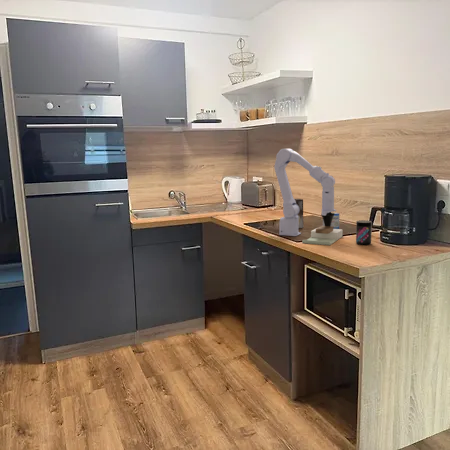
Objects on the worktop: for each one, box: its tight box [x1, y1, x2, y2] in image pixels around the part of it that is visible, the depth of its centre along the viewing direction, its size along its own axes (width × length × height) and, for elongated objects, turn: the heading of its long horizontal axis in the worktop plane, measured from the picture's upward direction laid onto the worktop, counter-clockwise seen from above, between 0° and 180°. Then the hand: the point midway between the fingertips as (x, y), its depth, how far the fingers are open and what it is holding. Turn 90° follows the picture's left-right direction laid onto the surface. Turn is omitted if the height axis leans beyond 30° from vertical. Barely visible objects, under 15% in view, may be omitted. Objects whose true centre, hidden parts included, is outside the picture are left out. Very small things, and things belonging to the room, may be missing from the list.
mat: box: [301, 236, 338, 246], centre depth 198 cm, size 13×12×2 cm
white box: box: [310, 228, 343, 241], centre depth 207 cm, size 13×10×4 cm
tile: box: [315, 225, 333, 234], centre depth 203 cm, size 6×9×2 cm, turn 150°
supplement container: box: [355, 219, 373, 246], centre depth 190 cm, size 7×7×10 cm
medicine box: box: [322, 212, 340, 229], centre depth 228 cm, size 8×4×9 cm, turn 101°
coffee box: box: [294, 198, 304, 229], centre depth 234 cm, size 9×6×16 cm
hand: (327, 227), depth 208 cm, fingers closed
